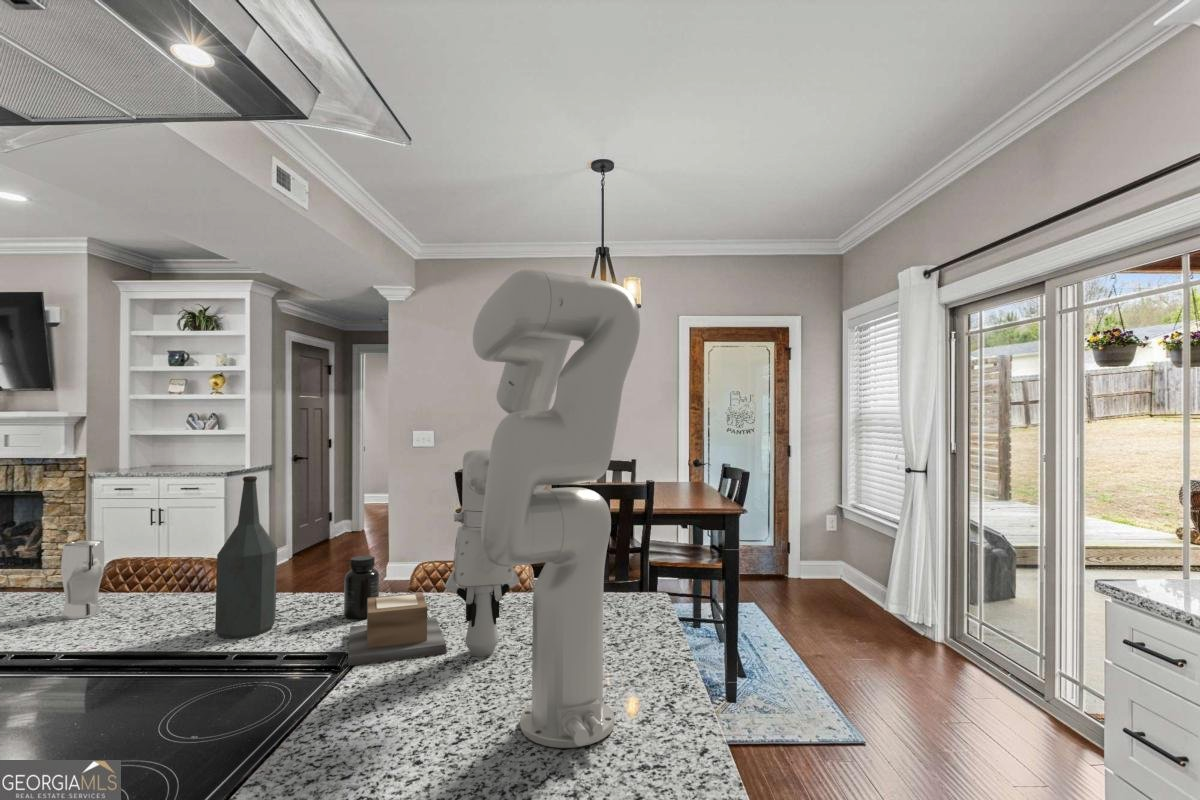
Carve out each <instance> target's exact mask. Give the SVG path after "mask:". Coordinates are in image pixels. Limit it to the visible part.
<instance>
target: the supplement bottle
mask: <svg viewBox="0 0 1200 800" xmlns="http://www.w3.org/2000/svg"><path fill="white" fill-rule="evenodd" d="M375 560H376V559H375V556H372V555H358V556H355V557H350V560H349V569H350V570H349V571H347V573H346V574H345V575H344V589H343V591H344V592H343V594H344V596H343V616H344V617H345V619H346V620H349V621H361V620H367V601H368V598H370V597H380V573H379V570H377V569H376V568H374V567H375V566H376V563H375Z"/></svg>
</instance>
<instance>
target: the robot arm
mask: <svg viewBox="0 0 1200 800" xmlns="http://www.w3.org/2000/svg"><path fill="white" fill-rule="evenodd" d="M640 331H641V318H640V311H639V307H638V305H637V302H636V300H635V298H634V297H633V296H632V294H631V293H630V292H629V291H628V290H627V289H625V288H624V287H622V286H620V285H618V284H616V283H613V282H610V281H606V280H603V279H599V278H598V279H597V278H593V277H589V276H587V277H585V276H580V275H574V274H565V273H560V272H559V273H558V272H551V271H545V270H538V269H520V270H517V271H515V272H514V273H512V274H511V275H510V276H508V277H507V278H506V280H504V282H503V283H502V284H501V285H500V286H499V287H498V288H497V289H496V290H495V291H494V293H492V294H491V295H490V296H489V298H487V300H486V301H485V303H484V305H483V306H482V307H481V309H480V311H479V313H478V314H477V317H476V319H475V322H474V326H473V331H472V345H473V349H474V352H475V354H476V356H478V357H479V359H481V360H482V361H487V362H495V363H504V367H503V371H502V374H501V377H500V380H499V384H498V387H497V391H496V396H495V397H496V401H497V404H498V405H499V407H500V408H502V410H504V412H506V413H507V414H508V415H506V416H505V417H503V419H502V420H501V421H500V422H499V423H498V426H497V427H496V429H495V431H494V434H493V437H492V439H491V440H492V441H491V447H490V449H471V450H468V451H466V452H464V454H463V456H462V495H461V496H462V497H461V498H462V505H461V506H462V508H461V511H460V512H458V513H454V514H453V522H454V523H455V522H457V523H460V524H461V526H459V527H458V528H457V533H456V538H455V546H454V553H453V554H454V555H453V567H452V571H451V573H450V575H449V576H448V579H447V581H446V583H445V584H444V588H445V590H446V591H448V592H450V593H453V594H456V595H457V596H459V597H460V598H461V599H462V600H463V601H464V602H465V621H466V622H469V621H471V627H474V625H475V617H476V604H475V603H474V598H473V597H474V588H475V587H481V586H492V585H494V591H493V592H491V593H492V616H493V623H494V624H496V623H497V619H499V618H500V602H501V601H502V599H503V597H504V596H505V595H506V593H507V592H508V591H509V590H510V589H512V588H514V587H515V586H516V585H518V584H519V583H520V578H519V576H518V574H517V572H516V570H515V569H514V567H519V566H522V567H523V566H528V565H534V564H542V563H545V564H544V566H543V568H541V571H540V573H539V575H538V577H537V580H536V582H535V585H534V589H533V596H532V640H531V641H532V642H531V643H532V652H531V653H532V654H531V655H532V660H531V661H532V662H531V663H532V664H531V666H532V667H531V668H532V669H531V670H532V671H531V672H532V673H531V676H532V677H531V683H532V684H531V685H532V686H531V704H530V705H528V706H527V707H526V708H525V709H524V710H523V711H522V712H521V714H520V719H519V720H520V721H519V722H520V724H519V726H520V730H521V733H522V734H523V735H524V736H525V737H526V738H527V739H529V740H530V741H532V742H534V743H536V744H538V745H541V746H545V747H549V748H550V747H551V748H556V749H557V748H558V749H559V748H560V749H569V748H570V749H573V748H579V747H580V748H582V747H585V746H589V745H592V744H596V743H597V742H600V741H602V740H603V739H605V738H606V737H608V735H610V734H611V733H612V731H613V730H614V727H615V715H614V714H615V713H614V711H613V710H612V708H611V707H609V706H608V704H606V703H604V698H603V697H604V696H603V695H604V582H605V581H604V580H605V577H604V576H605V565H606V559H607V553H608V552H607V550H608V545H609V542H610V537H611V530H612V517H611V516H612V515H611V512H610V511H611V510H610V508H609V505H608V503H607V501H606V500H605V499H604V497H603V496H601V494H599V493H598V492H596V491H595V490H592V489H590V488H589V489H588V488H585V487H577V486H576V487H575V486H574V487H572V486H571V487H553V488H546V487H547V486H552V485H553V486H556V485H557V486H558V485H571V484H584V483H589V482H590V483H591V482H595V481H596V480H599V479H600V478H603V476H604V475H605V474H606V472H607V470H608V468H609V465H610V463H611V458H612V455H613V454H612V453H613V451H614V450H613V449H614V442H615V437H616V432H617V426H618V419H619V413H620V407H621V401H622V394H623V389H624V385H625V381H626V377H627V374H628V371H629V369H630V366H631V363H632V361H633V359H634V355H635V352H636V349H637V346H638V343H639V337H640ZM571 341H578V342H582V343H583V345H581V346H580V347H579V348H578V349H576V351H575V352H573V354H572V355H571V356H570V358H569V359H568V360H567V361H566V360H565V359H566V357H567V354H568V351H569V349H570V345H571ZM565 361H566V362H565ZM564 363H565V364H564ZM555 390H556V392H555ZM554 394H555V399H554V401H553V405H552V407H551V408H550V405H551V402H552V399H553V397H554Z"/></svg>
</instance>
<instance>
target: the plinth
mask: <svg viewBox="0 0 1200 800" xmlns="http://www.w3.org/2000/svg"><path fill="white" fill-rule="evenodd" d="M348 639H349V640H348V650H347V651H348V654H347V666H348V665H349V666H350V667H351V666H356V665H363V664H364V665H365V664H372V663H380V662H381V663H382V662H388V661H396V660H402V659H410V658H412V659H413V658H417V657H426V656H434V655H441V654H446V653H447V643H446V641H445V640H446V639H445V637H444V635H443V632H442V630H441V627H440V624H439V621H438V619H437V617H428V605H427V601H426V599H425V596H424V593H423V592H416V593H415V592H414V593H406V594H405V593H404V594H395V595H392V594H391V595H383V596H382V595H381V596H379V597H370V598H368V601H367V619H366V624H365V625H354V626H349V637H348ZM349 666H348V667H349Z"/></svg>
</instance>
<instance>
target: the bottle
mask: <svg viewBox="0 0 1200 800" xmlns="http://www.w3.org/2000/svg"><path fill="white" fill-rule="evenodd" d="M257 480H258V477H257V476H253V475H249V476H244V477H243V478H242V481H243V486H242V493H241V498H240V507H239V513H238V514H239V515H238V521H237V525H236V527H235V528H234V529H233V531H232V532H231V534H230V536H229V537H228V538H227V539H226V541H225V543H224V544H223V545H222V547H221V548H220V550H219V552H218V553H217V555H216V559H217V560H216V582H215V583H216V586H215V588H216V589H215V590H216V591H215V617H214V619H215V620H214V621H215V623H214V626H215V627H214V632H215V634H216V635H217V636H218V637H220V638H223V639H233V640H234V639H235V640H237V639H244V638H250V637H254V636H259V635H262V634H264V633H267V632H269V631H271V630H272V628H274V627H273V626H274V625H275V622H276V614H277V613H276V611H277V610H276V608H277V607H276V606H277V575H278V574H277V571H278V570H277V568H278V566H277V565H278V562H277V561H278V547H277V546H276V544H275V543H274V541H273V540H272V538H271V537H270V535H269V534H268V532H267V531H266V529H265V528H264V527H263V525H262V524H261V523H260V522H261V521H260V513H259V502H258V491H257Z"/></svg>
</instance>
